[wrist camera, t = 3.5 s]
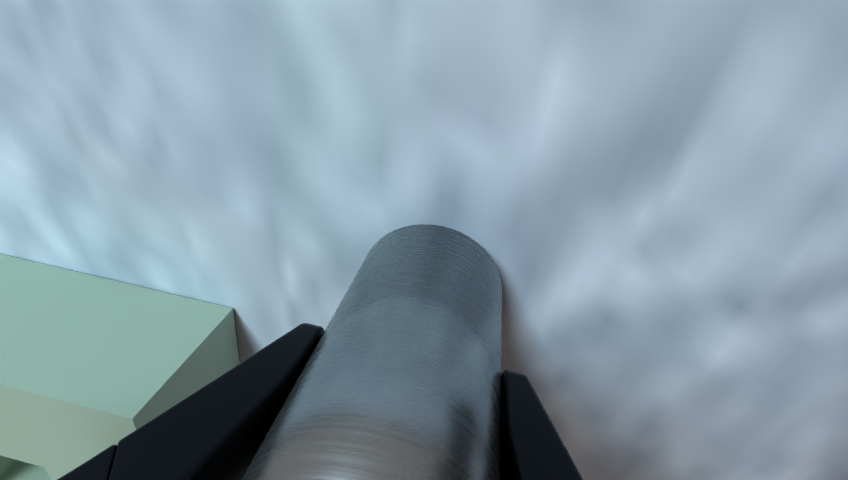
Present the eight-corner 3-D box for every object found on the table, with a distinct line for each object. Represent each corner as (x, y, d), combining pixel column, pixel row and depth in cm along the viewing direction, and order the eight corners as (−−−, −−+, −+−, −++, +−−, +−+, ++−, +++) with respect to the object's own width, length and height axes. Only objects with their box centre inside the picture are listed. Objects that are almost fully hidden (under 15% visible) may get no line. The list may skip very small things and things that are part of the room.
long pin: (518, 242, 9) (559, 947, 2) (484, 353, 11) (450, 938, 4) (367, 210, 9) (-5, 755, 3) (358, 323, 11) (124, 826, 4)
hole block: (233, 308, 13) (132, 418, 9) (258, 507, 19) (203, 618, 15) (-105, 229, 14) (-310, 303, 10) (23, 443, 20) (-78, 534, 16)
